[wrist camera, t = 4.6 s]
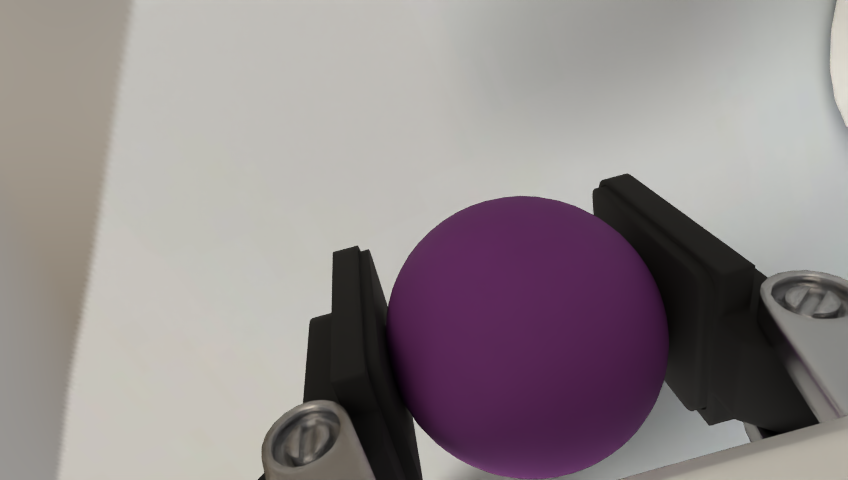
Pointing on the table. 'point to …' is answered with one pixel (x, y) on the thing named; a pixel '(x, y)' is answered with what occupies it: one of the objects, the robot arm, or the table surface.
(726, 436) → the table surface
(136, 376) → the table surface
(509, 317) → the ball
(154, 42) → the table surface
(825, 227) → the table surface
